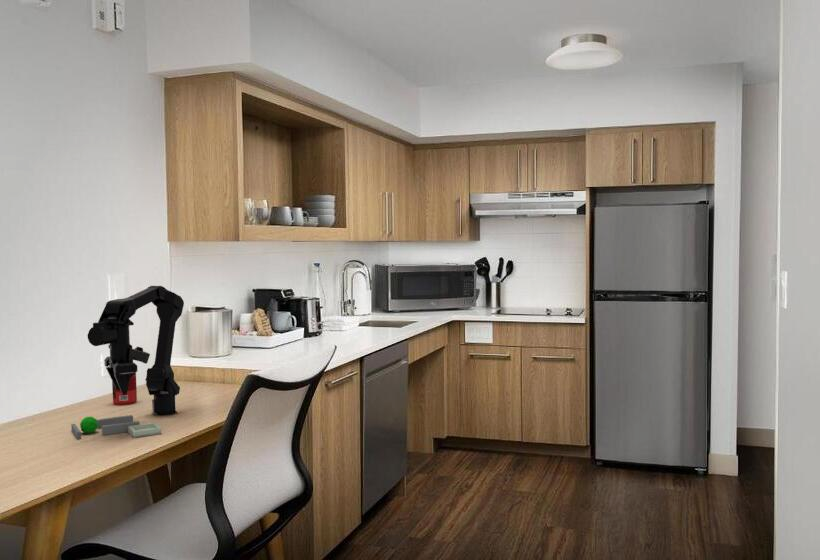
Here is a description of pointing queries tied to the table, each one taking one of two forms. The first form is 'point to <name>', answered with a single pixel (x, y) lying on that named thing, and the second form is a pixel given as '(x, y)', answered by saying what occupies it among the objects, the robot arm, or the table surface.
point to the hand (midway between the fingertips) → (121, 392)
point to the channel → (110, 425)
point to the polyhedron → (88, 425)
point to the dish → (144, 430)
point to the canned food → (129, 397)
